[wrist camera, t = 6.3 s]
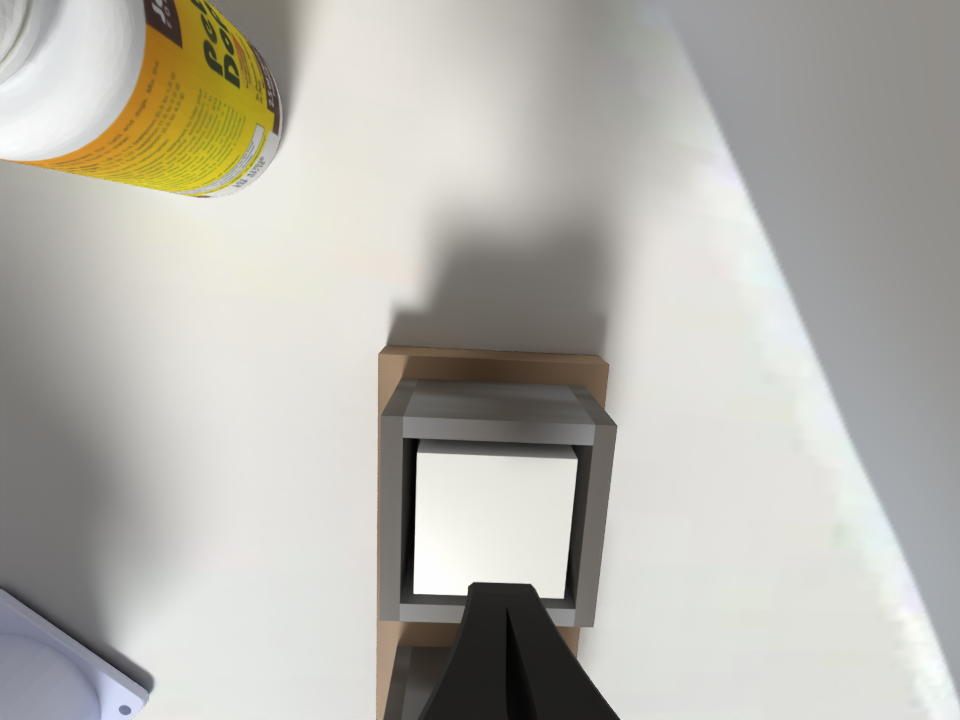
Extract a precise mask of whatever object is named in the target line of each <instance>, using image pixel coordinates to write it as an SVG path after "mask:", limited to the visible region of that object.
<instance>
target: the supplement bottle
mask: <svg viewBox="0 0 960 720" xmlns="http://www.w3.org/2000/svg"><path fill="white" fill-rule="evenodd" d="M282 121H283V116H282V105H281V99H280V95H279V91H278V88H277V85H276V82H275V80H274V77H273V75H272V73H271V71H270V69H269V67H268V66H267V64H266V62H265V61H264V59H263V58H262V56H261V55H260V53H259V52H258V51H257V50H256V49H255V47H254V46H253V45H252V44H251V43H250V42H249V41H248V40H247V39H246V38H245V37H244V36H243V35H242V34H241V33H240V32H239V31H238V30H237V29H236V28H235V27H234V26H233V25H232V24H231V23H230V22H229V21H228V20H227V19H226V18H225V17H224V16H223V15H222V14H221V13H220V12H219V11H217V10H216V9H215V8H214V7H213V6H212V5H211V4H210V3H209V2H208V1H207V0H0V159H2V160H7V161H12V162H17V163H22V164H28V165H32V166H37V167H42V168H47V169H53V170H58V171H63V172H68V173H73V174H79V175H84V176H89V177H95V178H100V179H104V180H110V181H114V182H120V183H125V184H131V185H135V186H141V187H146V188H151V189H156V190H161V191H166V192H170V193H175V194H180V195H186V196H192V197H198V198H215V197H222V196H226V195H230V194H233V193H236V192H238V191H240V190H242V189H244V188H246V187H247V186H249V185H250V184H252V183H253V182H254V181H256V180H257V179H258V178H259V177H260V176H261V175H262V174H263V173H264V171H265V170H266V169H267V168H268V166H269V165H270V163H271V161H272V160H273V158H274V155H275V153H276V151H277V148H278V145H279V142H280V138H281V132H282Z"/></svg>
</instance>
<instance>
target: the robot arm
mask: <svg viewBox="0 0 960 720" xmlns="http://www.w3.org/2000/svg"><path fill="white" fill-rule="evenodd" d="M148 700H149V694H148V692H147V691H146V690H145V689H144V688H143V687H141V686H140V685H138V684H137V683H136V682H134V681H133V680H131V679H130V678H128V677H127V676H126V675H124V674H123V673H121V672H120V671H118V670H117V669H116V668H114V667H113V666H111V665H110V664H108V663H107V662H105V661H104V660H103V659H101V658H100V657H98V656H97V655H95V654H94V653H93V652H91V651H90V650H88V649H87V648H85V647H84V646H83V645H81V644H80V643H78V642H77V641H75V640H74V639H73V638H71V637H70V636H68V635H67V634H65V633H64V632H62V631H61V630H60V629H58V628H57V627H55V626H54V625H52V624H51V623H50V622H48V621H47V620H45V619H44V618H42V617H41V616H40V615H38V614H37V613H35V612H34V611H32V610H31V609H30V608H28V607H27V606H25V605H24V604H22V603H21V602H19V601H18V600H17V599H15V598H14V597H12V596H11V595H9V594H8V593H7V592H5V591H4V590H2V589H0V720H132V719H133V718H134V717H135V716H136V715H137V714H138V713H139V712H140V711H141V710H142V709H143V707H144V706H145V705H146V703H147V702H148ZM417 720H620V718H619V717H618V716H617V714H616V713H615V712H614V711H613V709H612V708H611V707H610V705H609V704H608V703H607V701H606V700H605V699H604V697H603V696H602V695H601V693H600V692H599V691H598V689H597V688H596V687H595V685H594V684H593V683H592V681H591V680H590V678H589V677H588V675H587V674H586V673H585V671H584V670H583V668H582V667H581V665H580V664H579V662H578V661H577V659H576V658H575V656H574V655H573V653H572V651H571V650H570V648H569V647H568V645H567V644H566V642H565V641H564V639H563V637H562V636H561V634H560V633H559V631H558V629H557V628H556V626H555V624H554V622H553V621H552V619H551V617H550V616H549V614H548V612H547V610H546V608H545V607H544V605H543V603H542V601H541V599H540V597H539V595H538V593H537V591H536V589H535V588H534V587H533V586H532V584H524V583H493V582H473V583H472V584H470V585H469V586H468V594H467V600H466V605H465V609H464V613H463V616H462V619H461V623H460V626H459V629H458V632H457V634H456V637H455V639H454V642H453V645H452V647H451V650H450V653H449V655H448V658H447V660H446V662H445V665H444V667H443V669H442V671H441V673H440V675H439V677H438V680H437V682H436V684H435V686H434V688H433V690H432V692H431V695H430V697H429V699H428V701H427V703H426V704H425V706H424V708H423V710H422V712H421V714H420V716H419V718H418V719H417Z"/></svg>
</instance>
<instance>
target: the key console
mask: <svg viewBox="0 0 960 720" xmlns="http://www.w3.org/2000/svg"><path fill="white" fill-rule="evenodd" d="M608 371H609V364H608V363H607V362H605V361H604V360H603V359H602V358H601V357H599V356H596V355H574V354H553V353H531V352H510V351H488V350H467V349H445V348H424V347H402V346H385V347H384V348H383V349H382V351H381V352H380V353H379V354H378V513H377V686H376V720H417V719H418V718H419V716H420V714H421V712H422V710H423V708H424V706H425V704H426V703H427V701H428V699H429V697H430V695H431V692H432V690H433V688H434V686H435V684H436V682H437V680H438V677H439V675H440V673H441V671H442V669H443V667H444V665H445V662H446V660H447V658H448V655H449V653H450V650H451V647H452V645H453V642H454V639H455V637H456V634H457V632H458V629H459V626H460V623H461V619H462V616H463V613H464V609H465V605H466V600H467V595H438V594H414V558H415V517H416V476H417V451H418V447H419V444H420V440H421V438H423V439H447V440H472V441H496V442H520V443H545V444H569V445H571V447H572V449H573V451H574V453H575V455H576V457H577V459H578V462H577V472H576V482H575V492H574V502H573V512H572V521H571V531H570V541H569V551H568V561H567V571H566V580H565V590H564V599H562V598H540V599H541V601H542V603H543V605H544V607H545V608H546V610H547V612H548V614H549V616H550V617H551V619H552V621H553V622H554V624H555V626H556V628H557V629H558V631H559V633H560V634H561V636H562V637H563V639H564V641H565V642H566V644H567V645H568V647H569V648H570V650H571V651H572V653H573V655H574V656H575V658H577V649H578V640H579V631H580V627H593V626H594V618H595V609H596V601H597V593H598V584H599V576H600V567H601V559H602V550H603V542H604V534H605V525H606V517H607V508H608V500H609V491H610V483H611V475H612V466H613V458H614V449H615V441H616V432H617V425H616V424H615V422H614V421H613V420H612V419H611V418H610V416H609V415H608V414H607V413H606V412H605V410H604V407H605V398H606V389H607V380H608Z"/></svg>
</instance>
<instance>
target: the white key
mask: <svg viewBox="0 0 960 720" xmlns="http://www.w3.org/2000/svg"><path fill="white" fill-rule="evenodd" d="M577 462H578V459H577V457H576V455H575V453H574V451H573V449H572V447H571V445H569V444H545V443H520V442H496V441H472V440H447V439H423V438H421V440H420V444H419V447H418V451H417V476H416V517H415V558H414V594H438V595H467V594H468V586H469V585H470V584H472V583H473V582H493V583H524V584H532V586H533V587H534V588H535V589H536V591H537V593H538V595H539V597H540V598H562V599H564V590H565V580H566V571H567V561H568V551H569V541H570V531H571V521H572V512H573V502H574V492H575V482H576V472H577Z"/></svg>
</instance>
